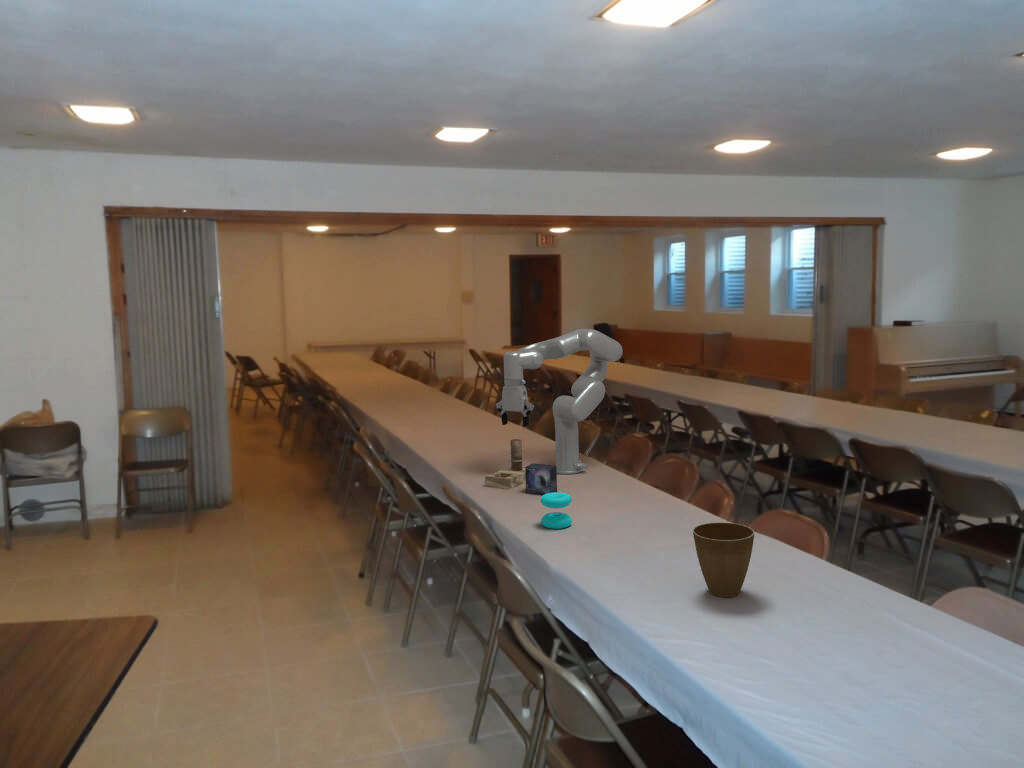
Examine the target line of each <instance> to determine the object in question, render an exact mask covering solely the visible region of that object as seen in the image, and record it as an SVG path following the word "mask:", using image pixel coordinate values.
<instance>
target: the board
mask: <svg viewBox="0 0 1024 768" xmlns="http://www.w3.org/2000/svg"><path fill="white" fill-rule="evenodd" d="M525 467H526V466H525ZM525 467H524V466H522V470H521V471H512V470H511V466H507V467H505V468H503V469H501V470H498V471H495V472H493V473H489V474H488V475H486V476H484V482H485V483H484V484H485V485H484V486H485V488H493V487H495V488H494V489H501V488H503V489H502V490H509V489H510V490H512V489H513V488H516V487H518V485H519V486H520V485H522V484H526V471H525ZM511 488H512V489H511Z"/></svg>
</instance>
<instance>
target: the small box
mask: <svg viewBox="0 0 1024 768" xmlns="http://www.w3.org/2000/svg"><path fill="white" fill-rule="evenodd" d="M525 471H526V482H525V493H526V494H530V495H538V496H543V495H544V494H547V493H554V492H558V476H557V475H558V473H557V466H556V464H555V465H554V464H544V463H536V462H532V463H530V464H528V465H526V466H525Z"/></svg>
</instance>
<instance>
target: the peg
mask: <svg viewBox="0 0 1024 768" xmlns="http://www.w3.org/2000/svg"><path fill="white" fill-rule="evenodd" d="M522 449H523V447H522V439H516V438H515V439H514V438H513V439H510V465H511V470H512V471H521V470H522V467H523V451H522Z"/></svg>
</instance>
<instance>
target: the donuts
mask: <svg viewBox="0 0 1024 768" xmlns="http://www.w3.org/2000/svg"><path fill="white" fill-rule="evenodd" d="M571 503H572V497H571V495H570V494H569V493H565V492H558V491H557V492H554V493H547V494H544V495H541V498H540V504H542V506H544V507H546V508H549V509H563V508H565V507H568V506H569V505H570V504H571ZM572 520H573V519H572V517H571V516H570V515H569V514H568V513H565V512H560V511H559V512H558V511H557V512H556V511H555V512H554V511H553V512H549V513H545V514H544V515H543V516H542V517H541V519H540V522H541V524H542V525H541V526H543V527H544V528H548V529H554V530H559V529H560V530H562V529H565V528H567V527H570V526H571V524H572V523H573V521H572Z"/></svg>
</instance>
